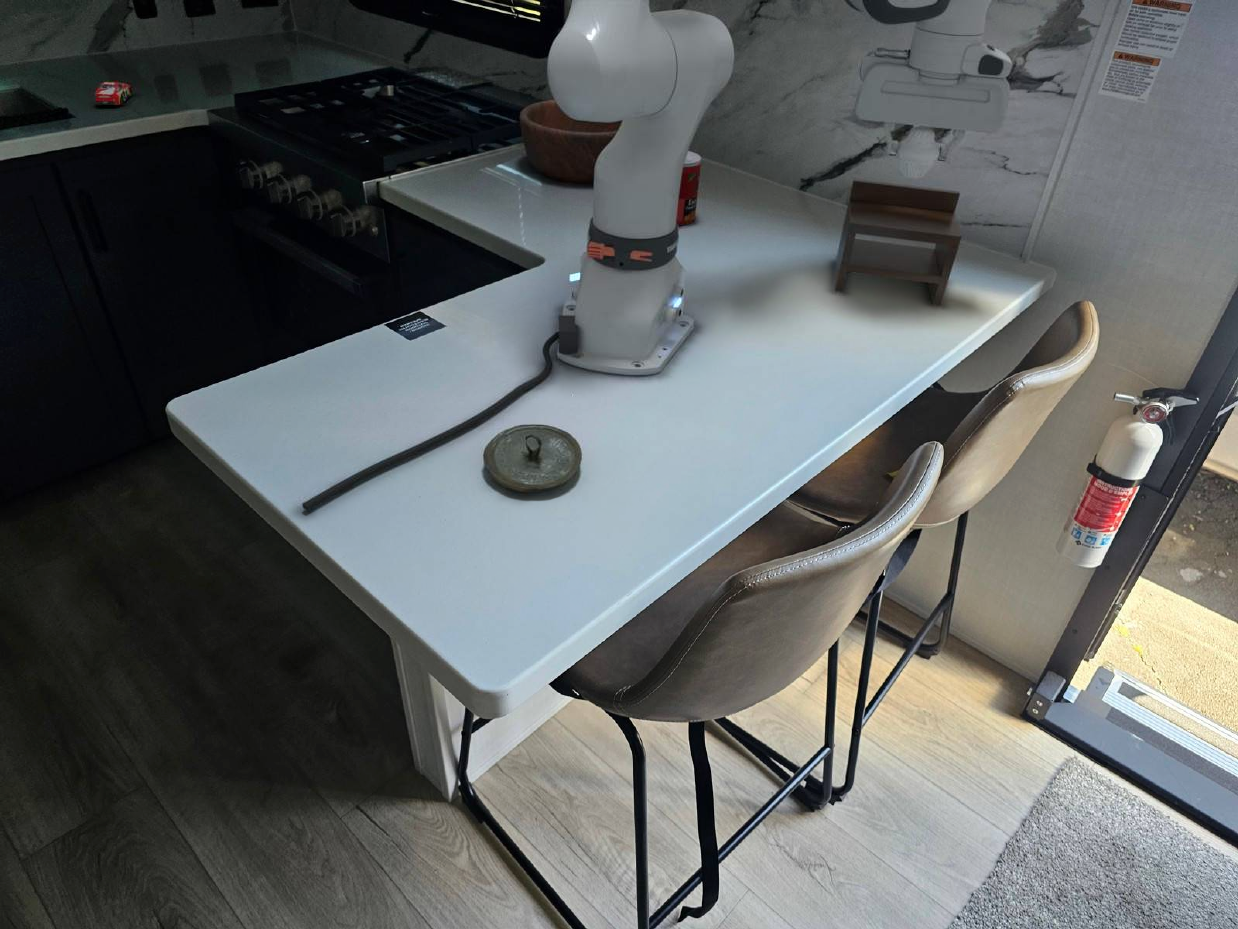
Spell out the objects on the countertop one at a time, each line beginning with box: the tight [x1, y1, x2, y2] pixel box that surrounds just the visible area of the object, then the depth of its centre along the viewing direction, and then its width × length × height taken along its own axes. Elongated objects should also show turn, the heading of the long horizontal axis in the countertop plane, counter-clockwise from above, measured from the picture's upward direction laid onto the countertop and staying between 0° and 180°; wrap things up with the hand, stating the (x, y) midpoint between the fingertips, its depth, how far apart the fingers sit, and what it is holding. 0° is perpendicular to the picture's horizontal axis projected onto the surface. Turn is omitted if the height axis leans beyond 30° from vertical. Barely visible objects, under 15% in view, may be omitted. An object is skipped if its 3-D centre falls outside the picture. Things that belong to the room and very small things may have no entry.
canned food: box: [676, 150, 702, 226], centre depth 150 cm, size 8×8×11 cm
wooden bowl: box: [519, 99, 623, 184], centre depth 170 cm, size 25×25×10 cm
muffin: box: [895, 126, 940, 180], centre depth 122 cm, size 6×6×7 cm
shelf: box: [834, 178, 963, 306], centre depth 131 cm, size 11×16×14 cm
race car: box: [94, 81, 133, 106], centre depth 192 cm, size 13×5×4 cm, turn 9°
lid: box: [482, 423, 583, 493], centre depth 91 cm, size 11×10×5 cm
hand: (916, 157), depth 123 cm, fingers closed on muffin, 6 cm apart
